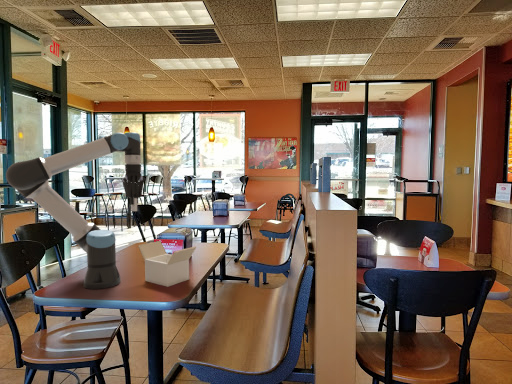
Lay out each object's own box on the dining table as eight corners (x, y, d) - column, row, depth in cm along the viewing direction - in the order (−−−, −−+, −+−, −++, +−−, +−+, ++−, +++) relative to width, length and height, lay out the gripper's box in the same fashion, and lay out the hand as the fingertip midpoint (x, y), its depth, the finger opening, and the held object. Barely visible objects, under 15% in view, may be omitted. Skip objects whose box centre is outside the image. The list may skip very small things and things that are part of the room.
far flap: (138, 245, 164) (137, 245, 165) (145, 259, 162) (144, 259, 162) (160, 240, 175) (159, 241, 175) (166, 253, 173) (166, 254, 173)
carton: (167, 286, 154) (166, 263, 154) (145, 280, 163) (144, 259, 162) (189, 279, 165) (188, 257, 164) (167, 274, 173) (166, 253, 173)
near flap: (167, 263, 154) (167, 264, 153) (174, 251, 151) (174, 252, 150) (188, 257, 164) (189, 258, 164) (195, 246, 161) (196, 247, 161)
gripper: (126, 163, 170) (127, 212, 171) (148, 163, 180) (149, 210, 182) (116, 163, 174) (118, 211, 175) (139, 164, 185) (140, 209, 186)
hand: (134, 210), depth 179 cm, fingers closed
